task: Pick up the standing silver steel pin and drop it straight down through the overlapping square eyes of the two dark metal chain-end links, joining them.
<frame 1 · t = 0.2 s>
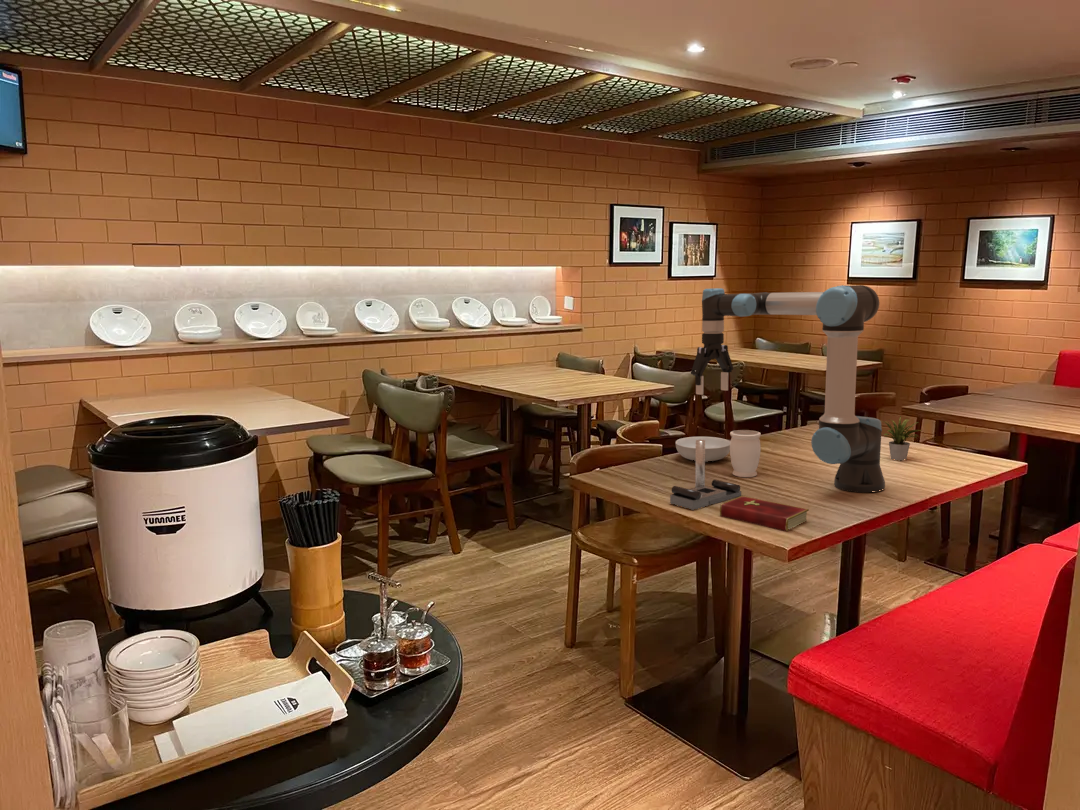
hand: (712, 392, 272), 28 cm above the table, tool pointing down, fingers open, 13 cm apart
link pin: (700, 488, 250), on the table
hardcover book: (763, 520, 218), on the table
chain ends: (706, 499, 237), on the table
house plant: (896, 460, 282), on the table
serving bowl: (703, 460, 291), on the table
jar: (744, 475, 266), on the table
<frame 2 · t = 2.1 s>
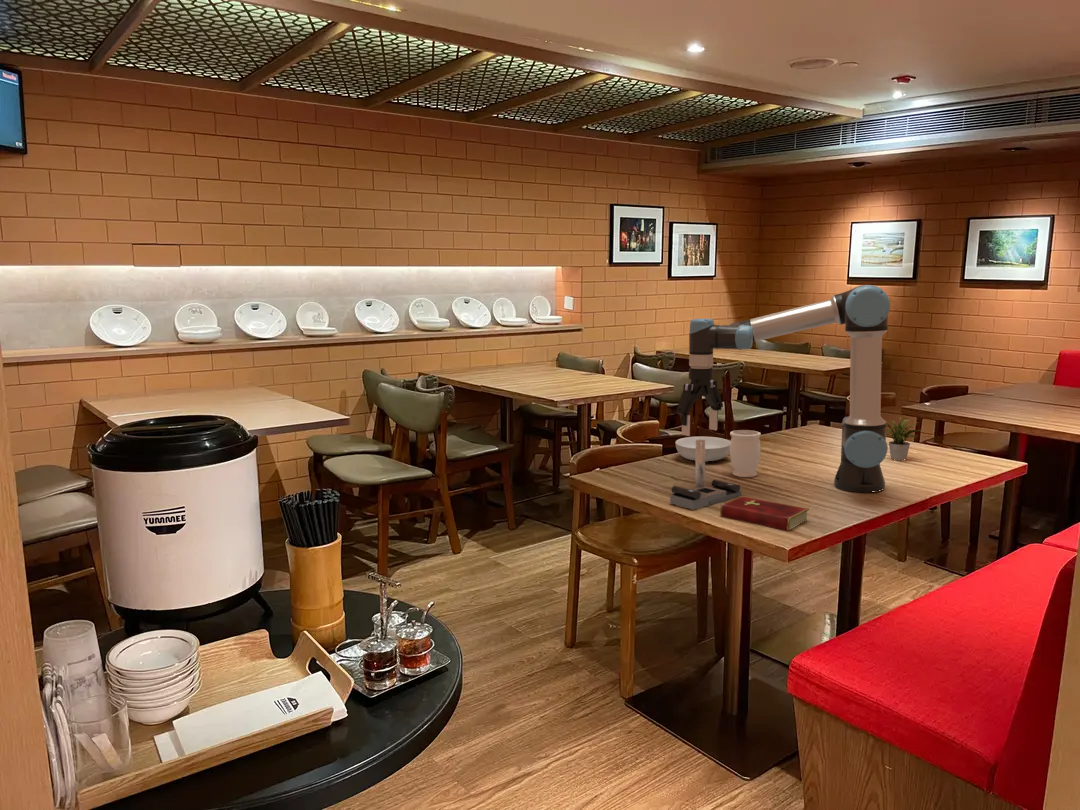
hand: (699, 432, 247), 19 cm above the table, tool pointing down, fingers open, 13 cm apart
nothing on the table moved.
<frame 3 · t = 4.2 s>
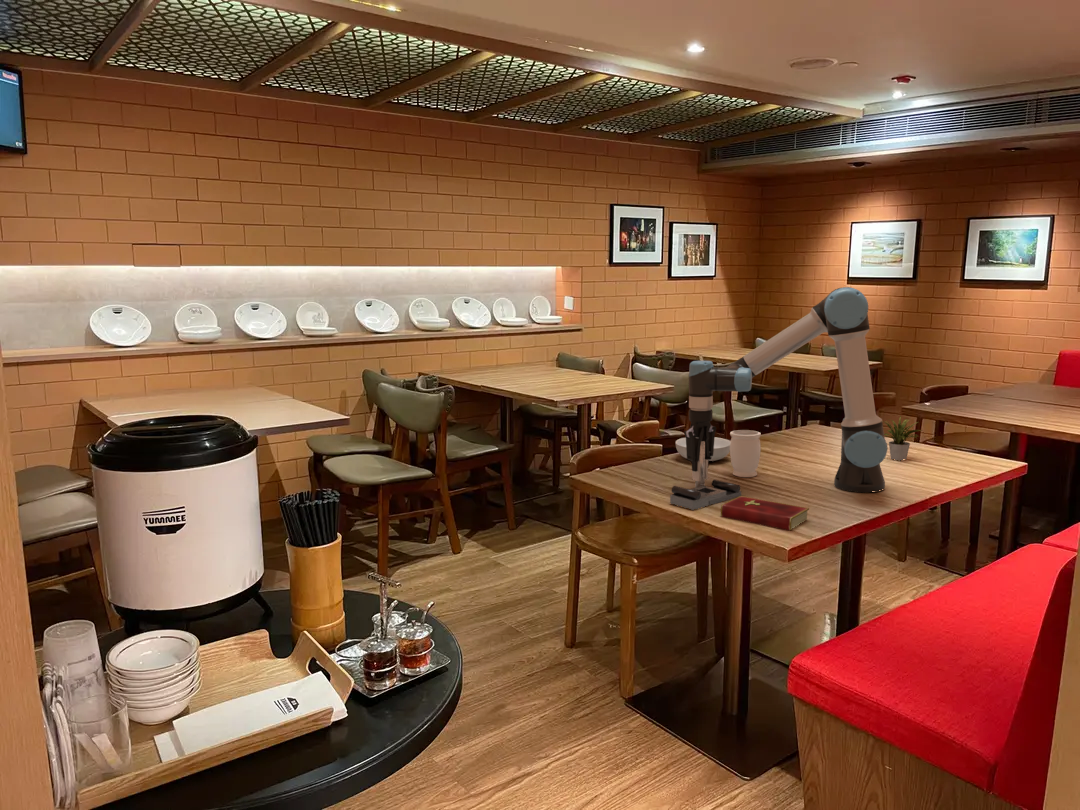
hand: (700, 479, 250), 3 cm above the table, tool pointing down, fingers closed on link pin, 3 cm apart
link pin: (700, 488, 250), on the table, touching gripper
everything else where it was.
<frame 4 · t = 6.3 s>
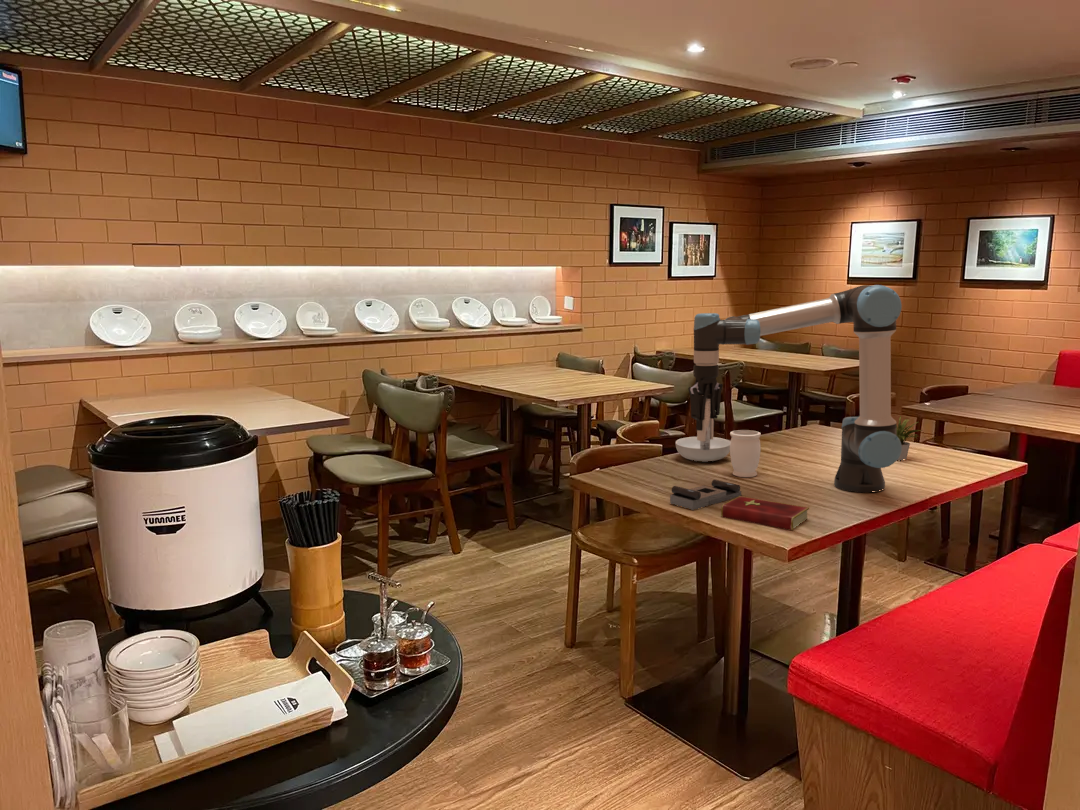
hand: (705, 439, 236), 19 cm above the table, tool pointing down, fingers closed on link pin, 3 cm apart
link pin: (705, 449, 237), point 16 cm above the table, touching gripper
everything else where it was.
when the fingers open (5 cm above the table, at t = 8.7 s): link pin drops 2 cm, resting in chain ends.
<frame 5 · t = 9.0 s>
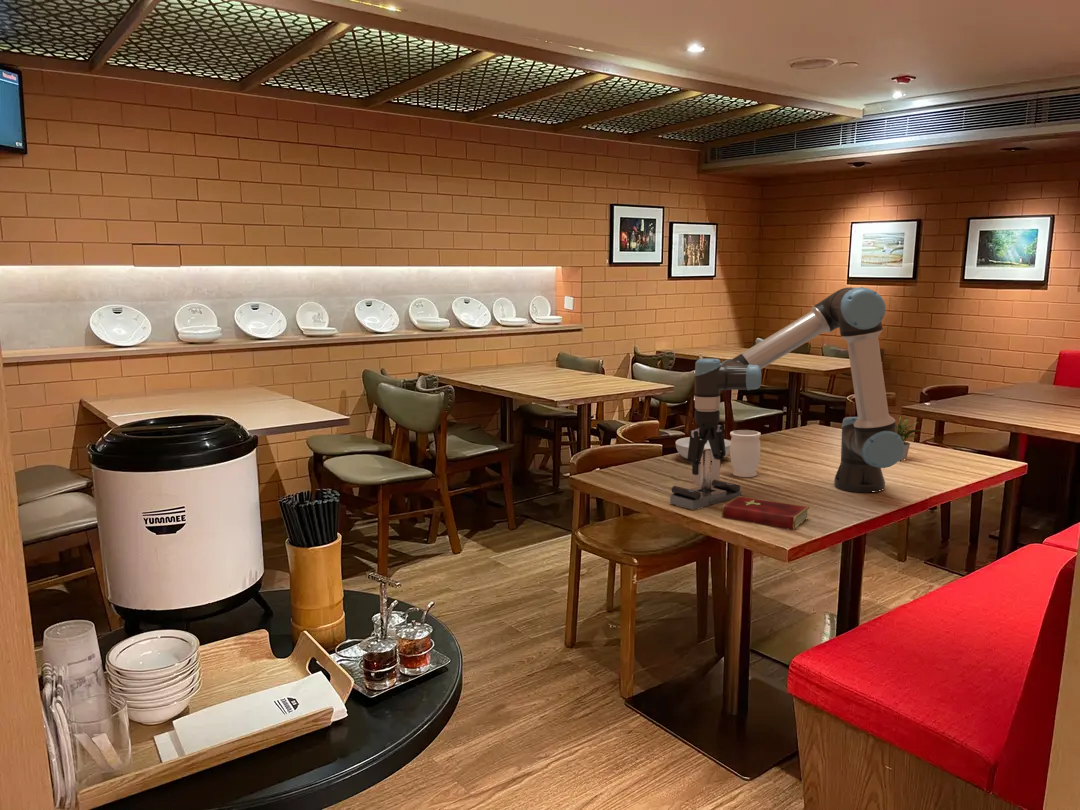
hand: (706, 481, 236), 6 cm above the table, tool pointing down, fingers open, 8 cm apart
link pin: (706, 499, 237), resting in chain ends
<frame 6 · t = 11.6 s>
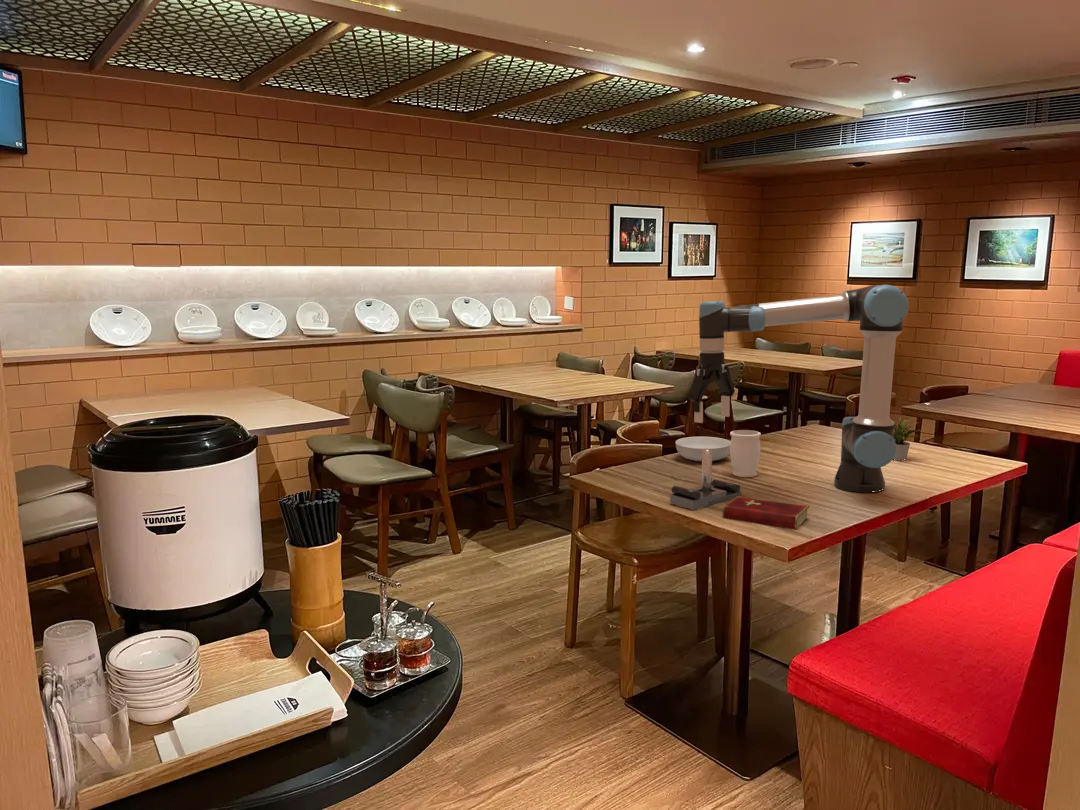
hand: (712, 419, 239), 24 cm above the table, tool pointing down, fingers open, 13 cm apart
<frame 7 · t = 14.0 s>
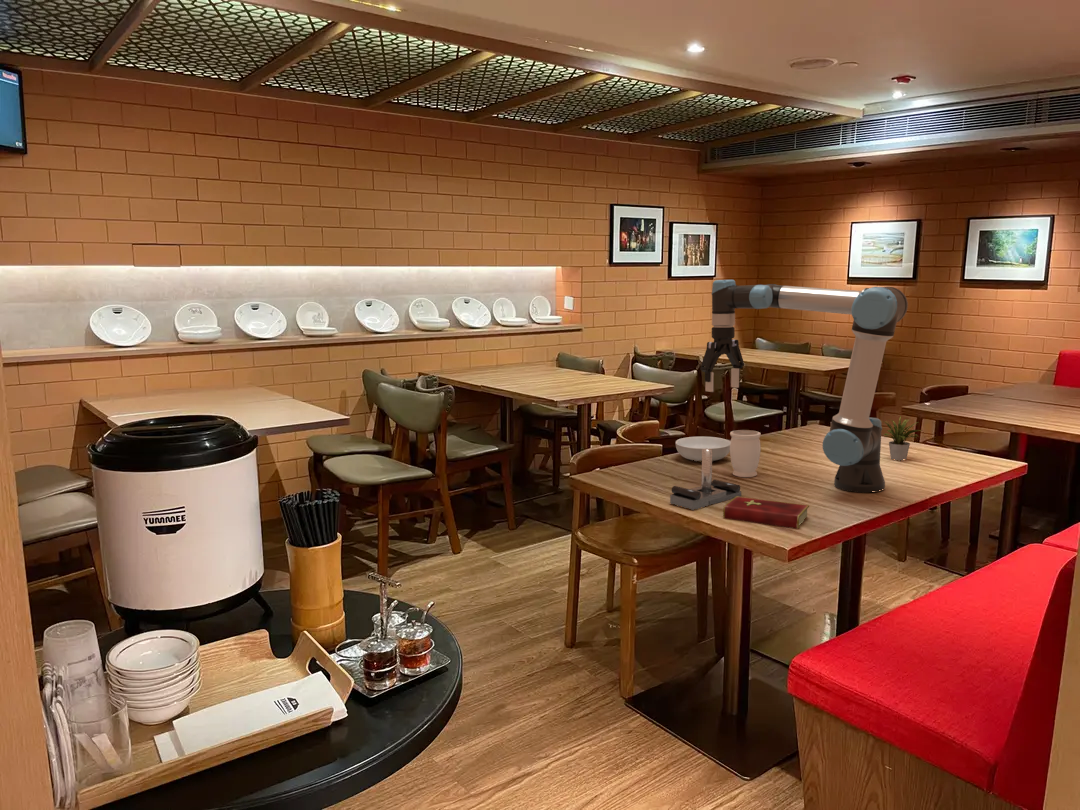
hand: (722, 389, 258), 31 cm above the table, tool pointing down, fingers open, 13 cm apart
at the end: link pin 0.1 cm off-centre on the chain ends, point 0.0 cm above the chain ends's base; link pin tilted 0°; the gripper is holding nothing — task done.
